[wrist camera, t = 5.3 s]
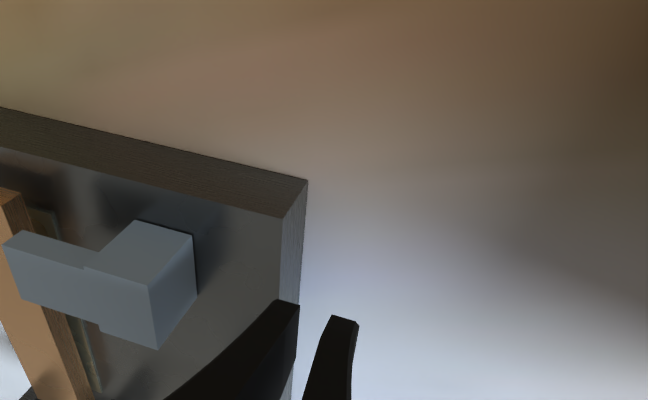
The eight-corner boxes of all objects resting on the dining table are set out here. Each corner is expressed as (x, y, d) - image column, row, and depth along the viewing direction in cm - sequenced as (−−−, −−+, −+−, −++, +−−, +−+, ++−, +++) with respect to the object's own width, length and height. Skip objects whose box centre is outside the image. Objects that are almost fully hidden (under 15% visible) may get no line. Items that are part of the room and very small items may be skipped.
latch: (197, 297, 15) (157, 350, 13) (74, 259, 16) (21, 305, 14) (191, 235, 13) (147, 285, 12) (57, 198, 14) (-3, 240, 13)
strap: (106, 424, 21) (94, 441, 20) (60, 407, 22) (46, 423, 21) (25, 192, 14) (2, 208, 13) (-43, 173, 14) (-68, 187, 14)
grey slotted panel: (287, 446, 22) (243, 558, 18) (76, 371, 24) (0, 458, 20) (308, 180, 14) (239, 285, 10) (-9, 105, 16) (-159, 168, 12)
